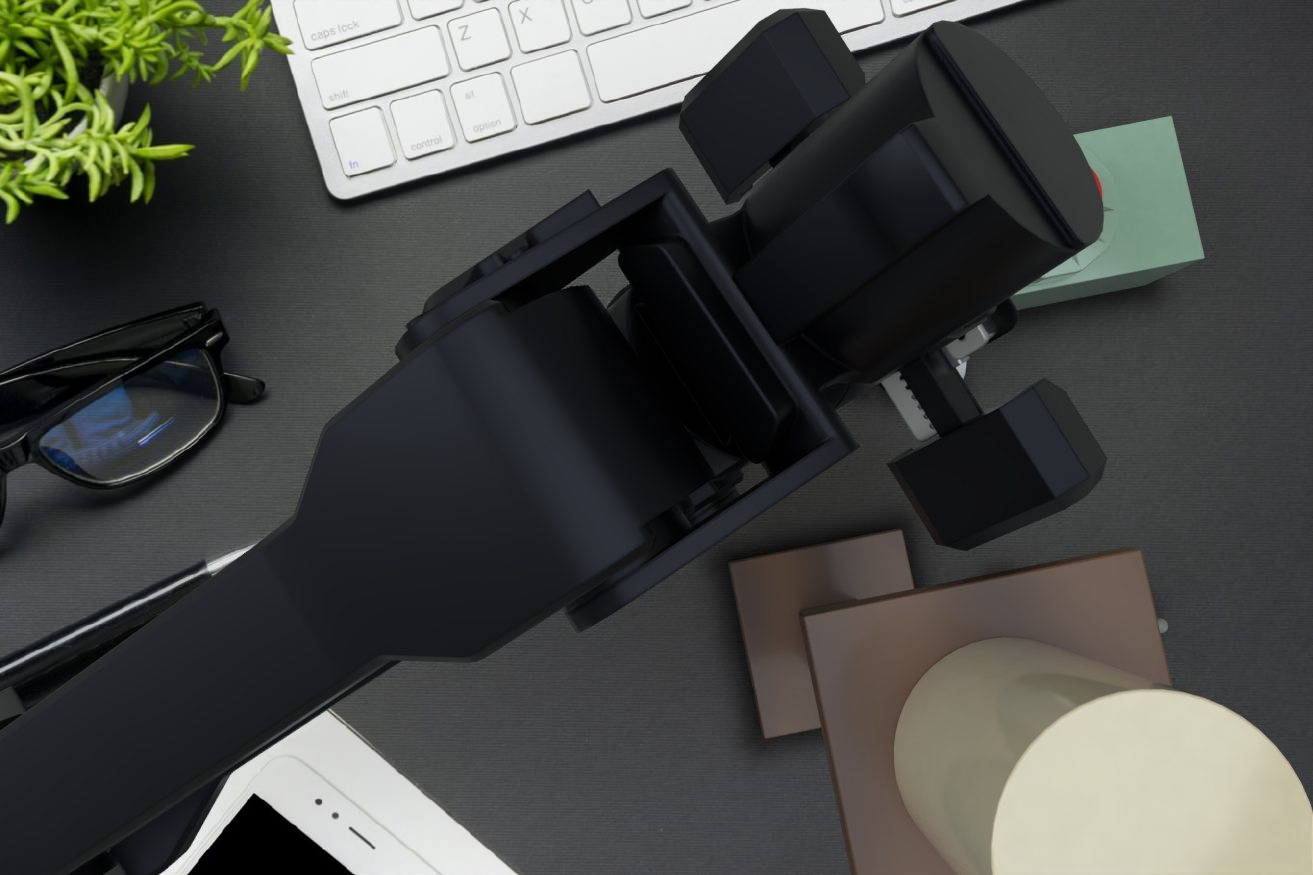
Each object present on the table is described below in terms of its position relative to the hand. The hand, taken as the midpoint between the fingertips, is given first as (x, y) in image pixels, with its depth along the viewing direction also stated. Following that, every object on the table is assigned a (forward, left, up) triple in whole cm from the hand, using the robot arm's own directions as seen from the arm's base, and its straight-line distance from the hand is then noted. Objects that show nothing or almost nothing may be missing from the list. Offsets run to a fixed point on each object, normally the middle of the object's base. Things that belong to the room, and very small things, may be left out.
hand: (974, 240), depth 43 cm
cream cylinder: (-7, -16, +14) cm, 23 cm away
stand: (-7, -16, -14) cm, 22 cm away
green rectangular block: (+8, +2, -14) cm, 16 cm away
